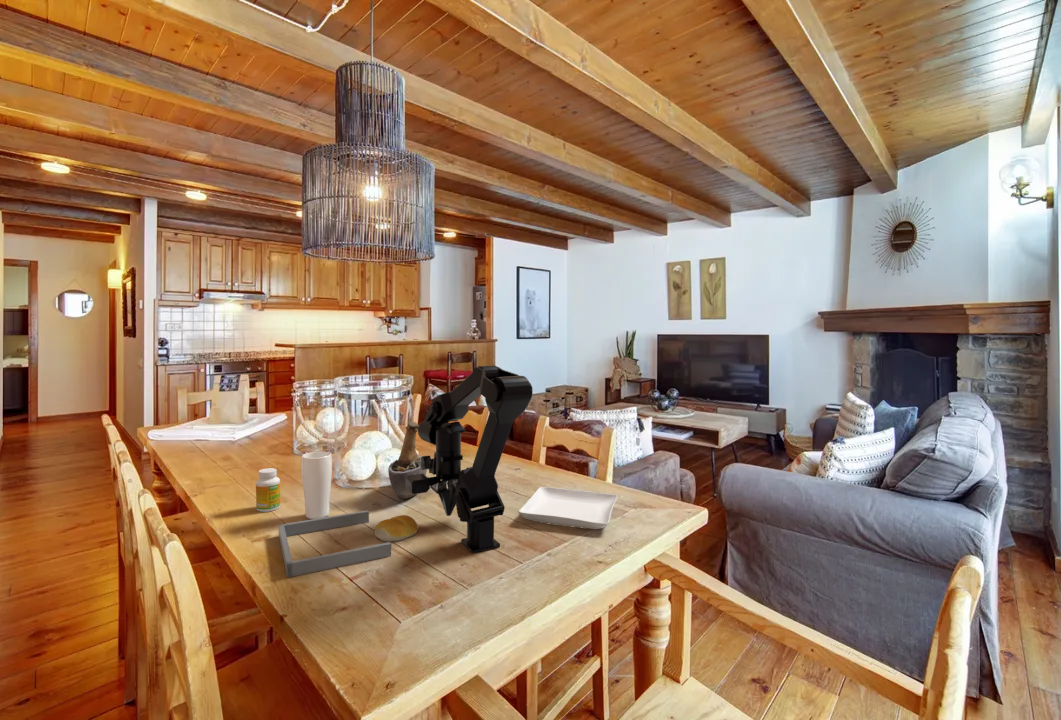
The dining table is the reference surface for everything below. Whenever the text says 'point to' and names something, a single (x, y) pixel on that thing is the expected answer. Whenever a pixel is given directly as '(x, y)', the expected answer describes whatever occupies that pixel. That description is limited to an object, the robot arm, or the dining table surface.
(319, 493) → the drinking glass
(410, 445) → the mortar and pestle
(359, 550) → the gray three-sided bracket
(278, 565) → the dining table surface
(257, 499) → the supplement bottle
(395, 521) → the bread roll
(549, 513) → the salad plate
